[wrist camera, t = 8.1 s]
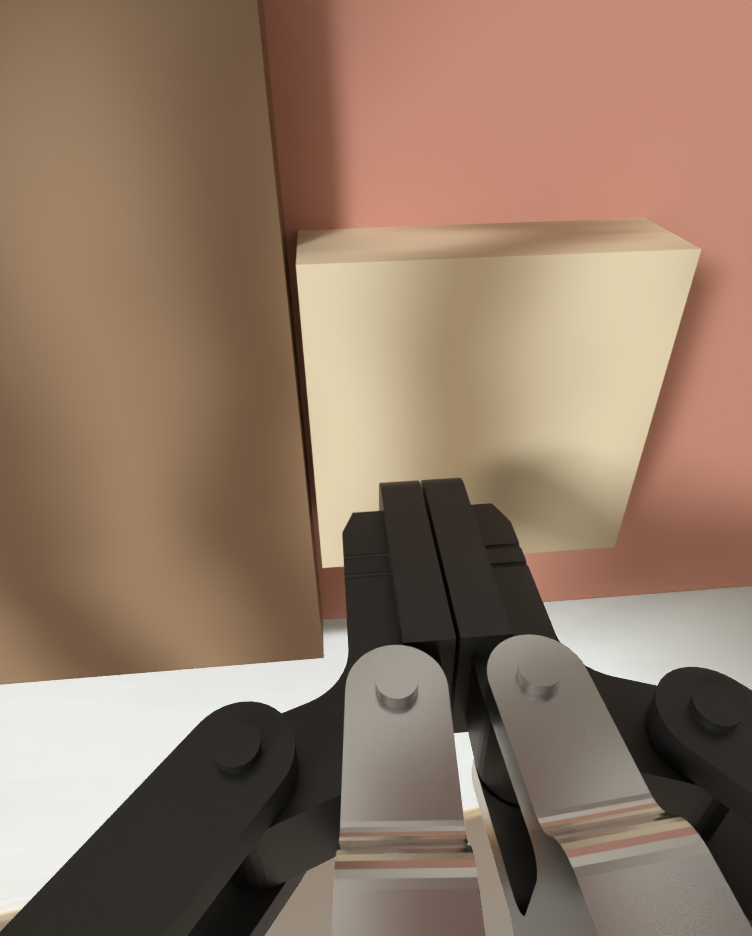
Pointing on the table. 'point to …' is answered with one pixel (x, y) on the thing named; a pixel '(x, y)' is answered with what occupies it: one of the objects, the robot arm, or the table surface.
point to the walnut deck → (146, 347)
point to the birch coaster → (489, 366)
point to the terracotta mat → (553, 209)
